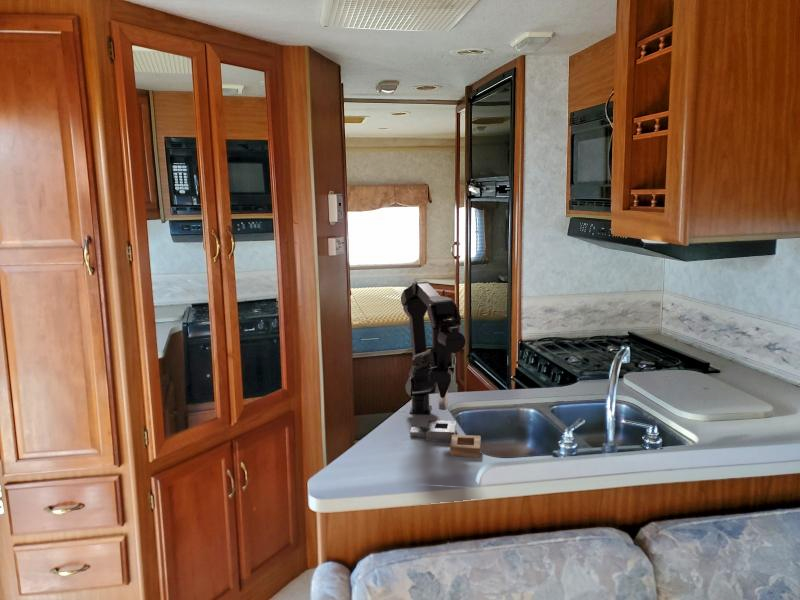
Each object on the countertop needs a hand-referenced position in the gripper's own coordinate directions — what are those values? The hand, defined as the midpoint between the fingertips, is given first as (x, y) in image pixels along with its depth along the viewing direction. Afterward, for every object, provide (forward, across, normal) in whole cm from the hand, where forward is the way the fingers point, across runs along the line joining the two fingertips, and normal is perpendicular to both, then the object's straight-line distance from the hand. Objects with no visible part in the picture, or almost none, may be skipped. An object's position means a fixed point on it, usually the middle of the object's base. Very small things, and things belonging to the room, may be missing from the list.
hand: (443, 395), depth 174 cm
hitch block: (+13, -1, -3) cm, 13 cm away
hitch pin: (+4, 0, 0) cm, 4 cm away
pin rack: (+13, +8, +7) cm, 16 cm away
